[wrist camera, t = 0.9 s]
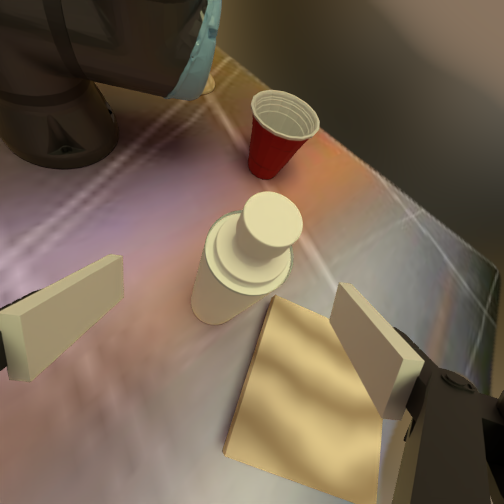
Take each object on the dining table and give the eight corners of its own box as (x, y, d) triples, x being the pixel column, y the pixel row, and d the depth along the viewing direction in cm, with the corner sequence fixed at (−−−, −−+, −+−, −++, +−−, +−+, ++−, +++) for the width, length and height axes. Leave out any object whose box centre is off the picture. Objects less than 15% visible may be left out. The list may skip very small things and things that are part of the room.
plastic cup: (275, 142, 50) (302, 84, 39) (297, 185, 47) (332, 136, 36) (226, 146, 46) (241, 83, 35) (246, 194, 43) (269, 141, 32)
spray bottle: (202, 334, 32) (260, 288, 10) (183, 288, 34) (195, 161, 11) (245, 312, 35) (367, 237, 13) (226, 271, 36) (303, 140, 14)
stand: (266, 300, 36) (275, 294, 33) (368, 346, 38) (388, 345, 35) (218, 443, 28) (224, 456, 25) (352, 492, 30) (375, 510, 26)
